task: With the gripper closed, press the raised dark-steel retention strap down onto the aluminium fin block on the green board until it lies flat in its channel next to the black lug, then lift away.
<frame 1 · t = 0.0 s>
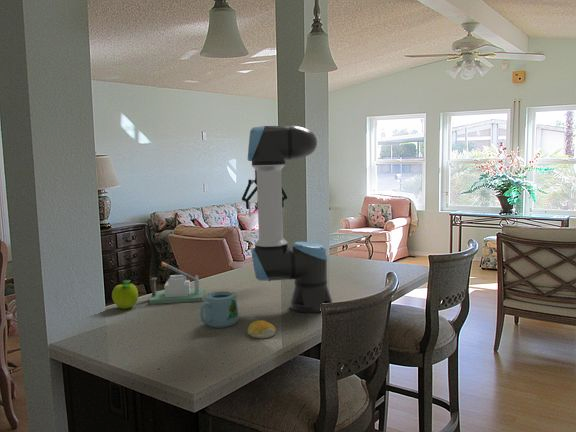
hand: (265, 215, 231), 28 cm above the kitchen island counter, fingers open, 13 cm apart
mug: (217, 326, 169), on the kitchen island counter
strap: (180, 272, 203), point 10 cm above the kitchen island counter, hinge at 30.0°
fruit: (126, 308, 193), on the kitchen island counter
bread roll: (262, 334, 161), on the kitchen island counter
heatsink board: (178, 297, 204), on the kitchen island counter
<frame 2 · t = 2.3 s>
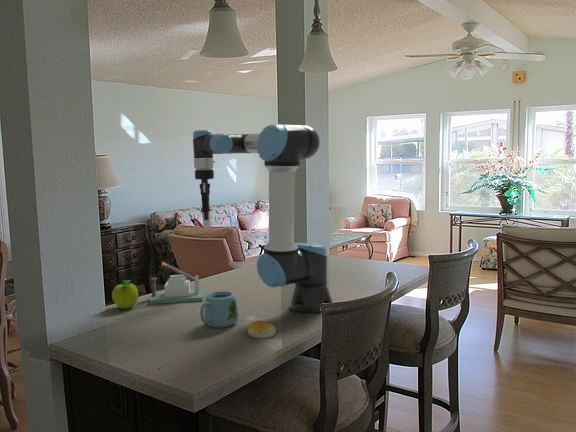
hand: (206, 227, 210), 26 cm above the kitchen island counter, fingers closed
nothing on the kitchen island counter moved.
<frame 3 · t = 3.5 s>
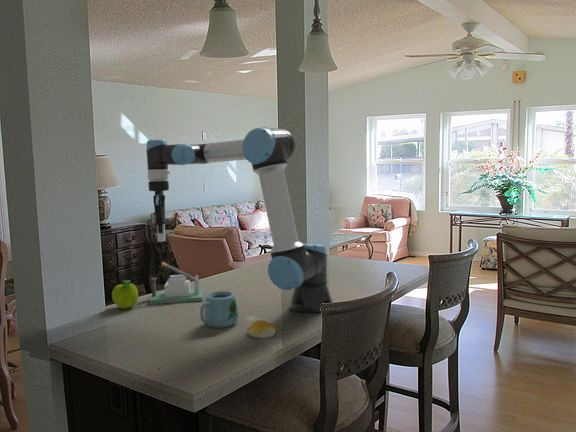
hand: (161, 241, 201), 23 cm above the kitchen island counter, fingers closed
nothing on the kitchen island counter moved.
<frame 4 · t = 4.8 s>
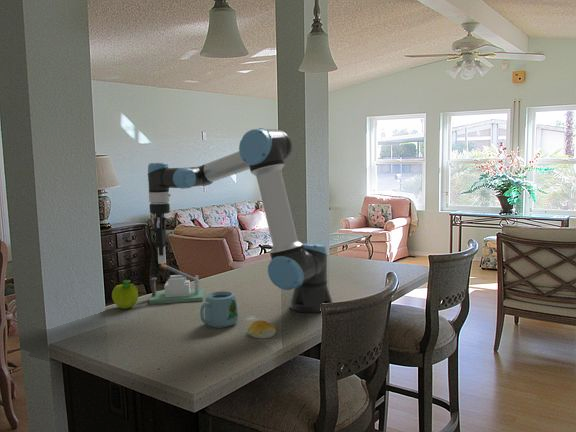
hand: (162, 263, 202), 14 cm above the kitchen island counter, fingers closed
strap: (179, 272, 203), point 10 cm above the kitchen island counter, hinge at 27.6°, touching gripper
everything else where it was.
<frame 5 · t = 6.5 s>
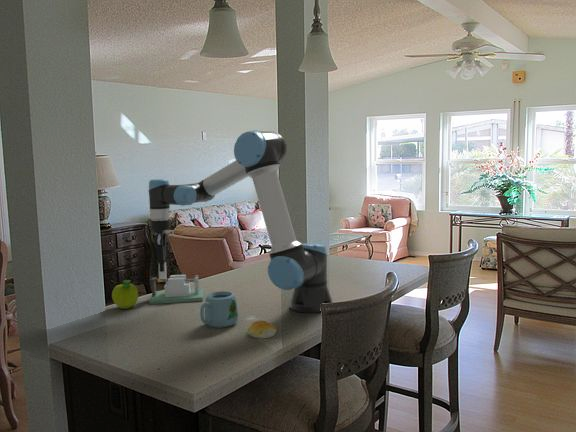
hand: (162, 278, 203), 8 cm above the kitchen island counter, fingers closed
strap: (178, 280, 203), point 7 cm above the kitchen island counter, hinge at 2.9°, touching gripper
everything else where it was.
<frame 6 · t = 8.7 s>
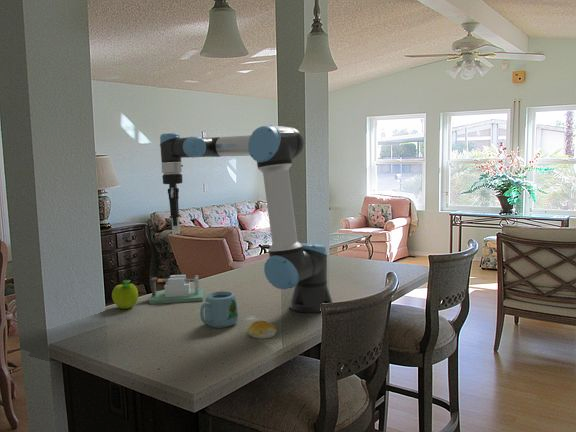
hand: (176, 233, 204), 25 cm above the kitchen island counter, fingers closed
strap: (178, 280, 203), point 7 cm above the kitchen island counter, hinge at 2.9°
everything else where it was.
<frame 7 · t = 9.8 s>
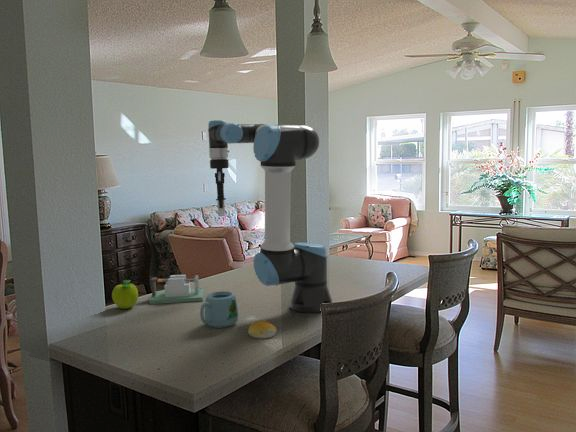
hand: (221, 215, 215), 30 cm above the kitchen island counter, fingers closed
nothing on the kitchen island counter moved.
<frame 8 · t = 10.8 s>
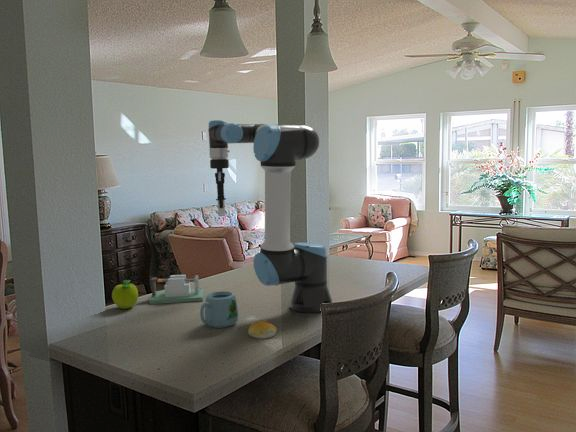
hand: (221, 215, 215), 30 cm above the kitchen island counter, fingers closed
nothing on the kitchen island counter moved.
at the end: strap at +3° (first picture: +30°); strap touching nothing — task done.
